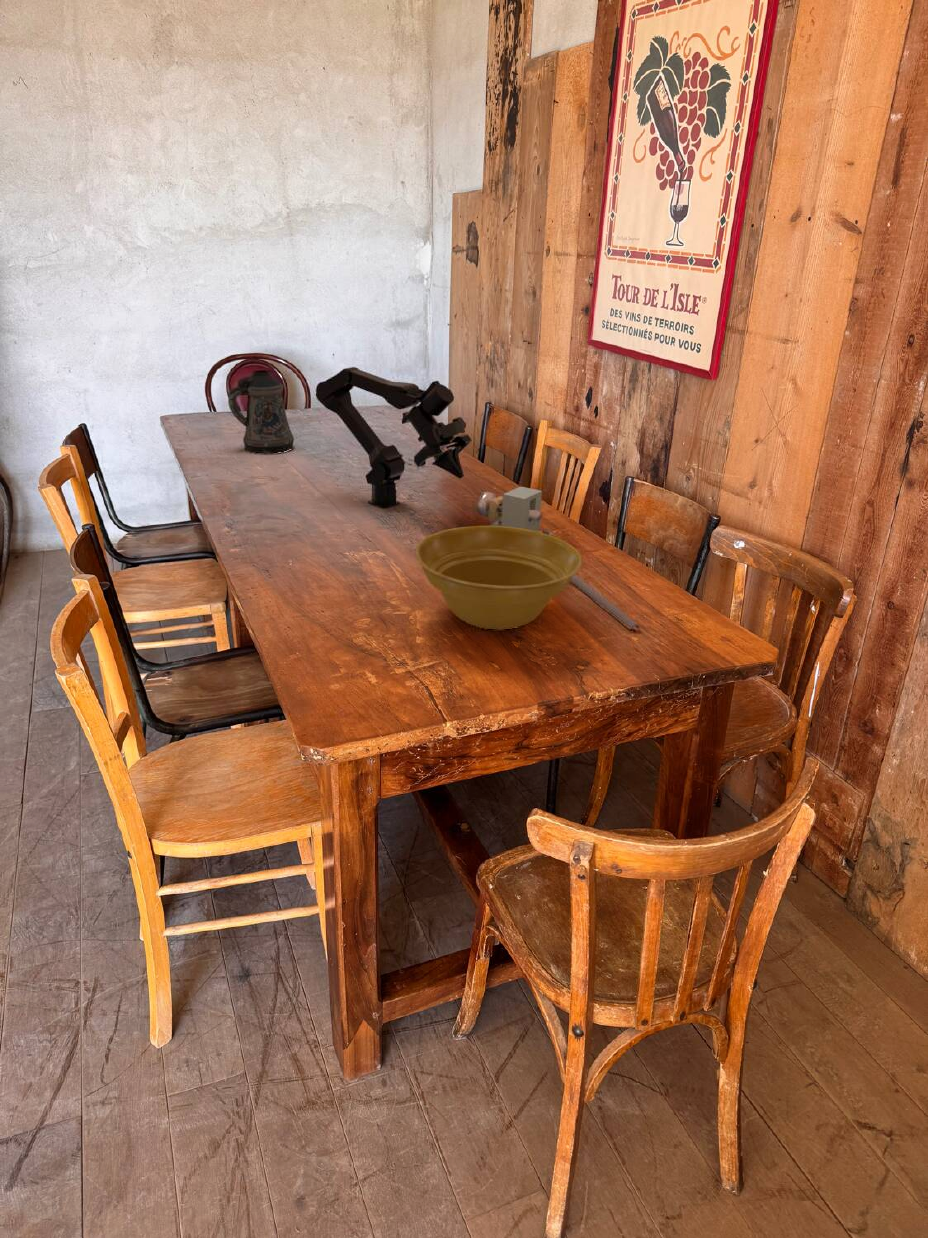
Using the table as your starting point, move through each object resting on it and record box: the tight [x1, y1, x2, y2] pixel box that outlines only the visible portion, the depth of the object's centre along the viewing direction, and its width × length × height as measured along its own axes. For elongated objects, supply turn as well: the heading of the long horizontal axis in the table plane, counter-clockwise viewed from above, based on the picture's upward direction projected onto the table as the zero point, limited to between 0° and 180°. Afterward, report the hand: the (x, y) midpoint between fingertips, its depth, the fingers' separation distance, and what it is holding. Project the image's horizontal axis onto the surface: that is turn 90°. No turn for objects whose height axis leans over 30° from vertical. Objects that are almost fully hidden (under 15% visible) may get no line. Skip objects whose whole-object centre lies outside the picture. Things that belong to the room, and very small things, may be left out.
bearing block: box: [488, 486, 554, 537], centre depth 208 cm, size 16×9×12 cm, turn 57°
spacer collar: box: [488, 495, 503, 523], centre depth 211 cm, size 2×5×5 cm, turn 147°
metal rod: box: [570, 573, 641, 630], centre depth 174 cm, size 2×27×2 cm, turn 20°
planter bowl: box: [414, 525, 583, 630], centre depth 164 cm, size 32×32×13 cm
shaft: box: [476, 491, 543, 522], centre depth 208 cm, size 16×6×6 cm, turn 57°
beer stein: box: [227, 369, 295, 454], centre depth 275 cm, size 16×19×25 cm
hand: (461, 477), depth 213 cm, fingers closed
